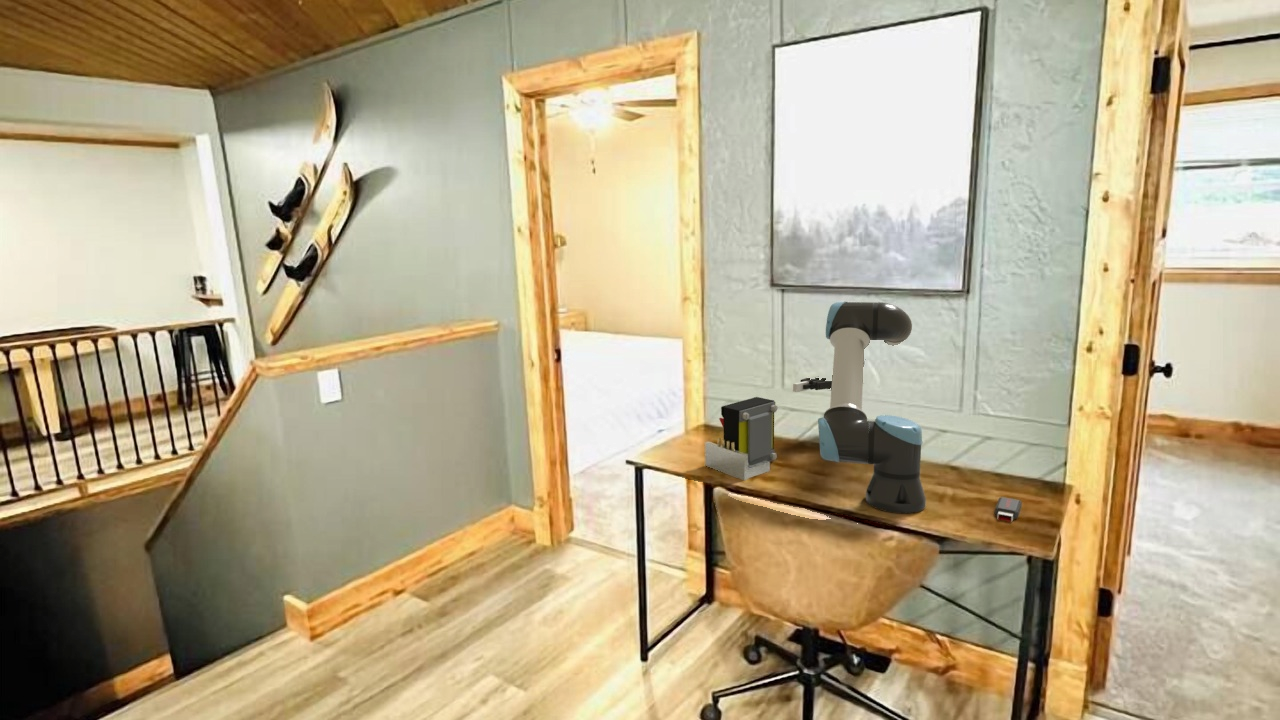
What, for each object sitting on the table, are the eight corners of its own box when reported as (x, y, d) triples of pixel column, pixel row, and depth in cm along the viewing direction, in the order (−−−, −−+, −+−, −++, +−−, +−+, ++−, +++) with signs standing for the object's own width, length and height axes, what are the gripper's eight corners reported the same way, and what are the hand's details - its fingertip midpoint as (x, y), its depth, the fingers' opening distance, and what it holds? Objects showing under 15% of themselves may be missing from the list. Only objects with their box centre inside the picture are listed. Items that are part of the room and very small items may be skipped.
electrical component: (743, 474, 201) (743, 411, 198) (719, 466, 209) (719, 405, 205) (779, 461, 213) (779, 401, 209) (754, 454, 220) (754, 396, 217)
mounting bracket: (770, 471, 203) (771, 439, 201) (744, 480, 196) (744, 447, 194) (731, 458, 217) (731, 427, 215) (705, 466, 209) (705, 435, 207)
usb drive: (1021, 508, 173) (1021, 498, 172) (1016, 524, 163) (1017, 514, 162) (998, 504, 176) (999, 494, 175) (992, 520, 166) (993, 509, 165)
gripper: (852, 392, 229) (810, 401, 215) (821, 386, 239) (779, 395, 225) (853, 371, 228) (810, 379, 214) (822, 366, 238) (779, 374, 224)
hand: (794, 387), depth 220 cm, fingers closed
